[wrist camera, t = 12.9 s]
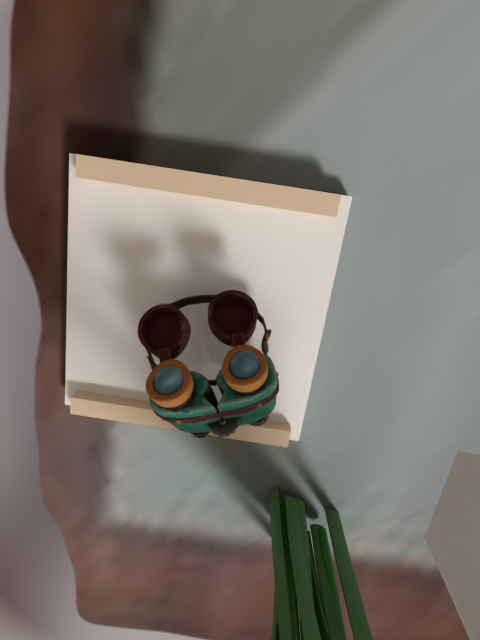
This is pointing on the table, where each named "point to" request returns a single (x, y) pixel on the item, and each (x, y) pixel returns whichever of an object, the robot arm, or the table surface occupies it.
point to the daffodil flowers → (311, 576)
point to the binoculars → (233, 379)
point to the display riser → (193, 281)
